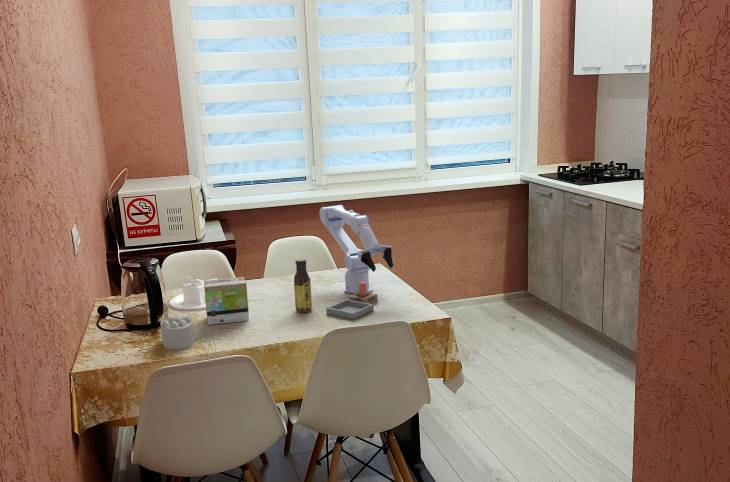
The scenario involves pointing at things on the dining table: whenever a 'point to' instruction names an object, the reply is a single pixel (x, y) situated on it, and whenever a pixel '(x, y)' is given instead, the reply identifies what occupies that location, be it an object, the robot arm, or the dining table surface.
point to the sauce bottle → (302, 287)
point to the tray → (350, 309)
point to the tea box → (226, 300)
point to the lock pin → (362, 289)
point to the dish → (191, 296)
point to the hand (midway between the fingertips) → (383, 268)
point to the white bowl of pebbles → (177, 332)
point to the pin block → (365, 298)
